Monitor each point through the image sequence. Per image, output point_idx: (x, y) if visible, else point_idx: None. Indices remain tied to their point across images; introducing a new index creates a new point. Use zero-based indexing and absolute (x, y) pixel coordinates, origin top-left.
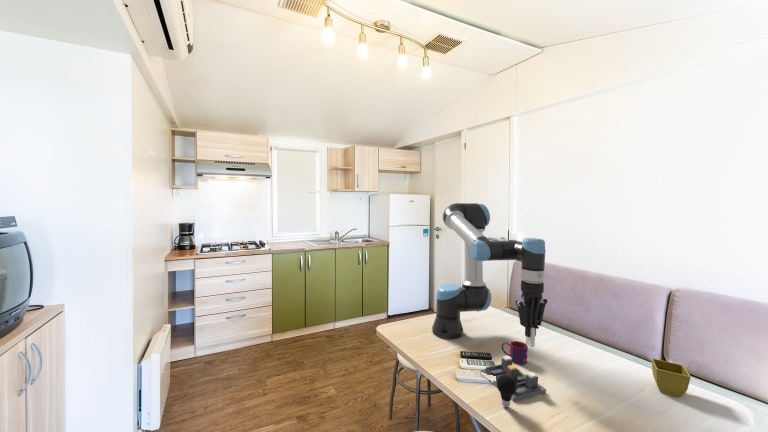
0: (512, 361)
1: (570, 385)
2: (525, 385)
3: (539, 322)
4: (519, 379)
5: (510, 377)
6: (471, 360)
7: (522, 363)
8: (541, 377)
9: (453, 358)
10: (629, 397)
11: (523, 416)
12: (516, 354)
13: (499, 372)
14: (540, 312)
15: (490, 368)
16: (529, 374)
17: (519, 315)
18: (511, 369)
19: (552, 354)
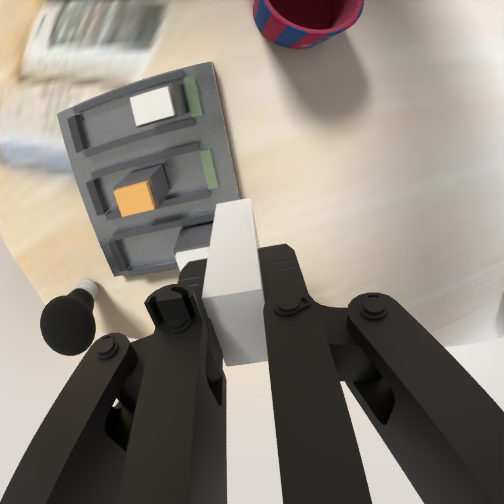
0: (180, 115)
1: (373, 215)
2: (180, 230)
3: (363, 393)
4: (170, 203)
5: (67, 349)
6: (73, 13)
7: (291, 47)
8: (308, 151)
9: (21, 15)
10: (455, 280)
11: (125, 316)
12: (269, 25)
13: (110, 147)
14: (432, 500)
15: (92, 106)
16: (182, 265)
17: (31, 459)
18: (124, 214)
19: (465, 32)
